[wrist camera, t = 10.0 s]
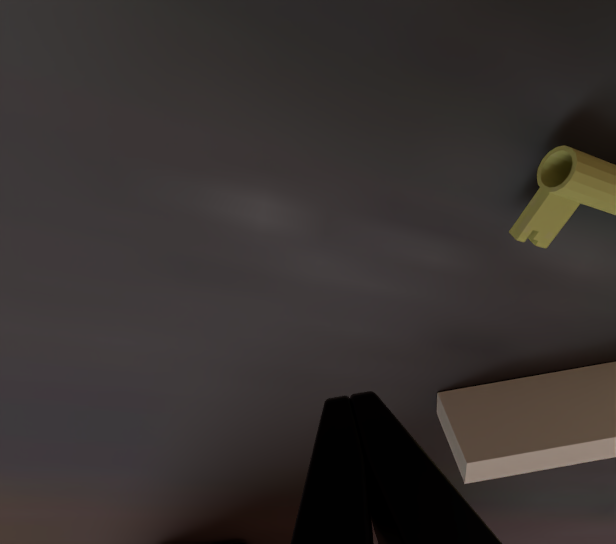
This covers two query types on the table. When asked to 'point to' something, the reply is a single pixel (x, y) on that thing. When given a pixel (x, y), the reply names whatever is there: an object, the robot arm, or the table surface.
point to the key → (565, 193)
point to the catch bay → (531, 422)
